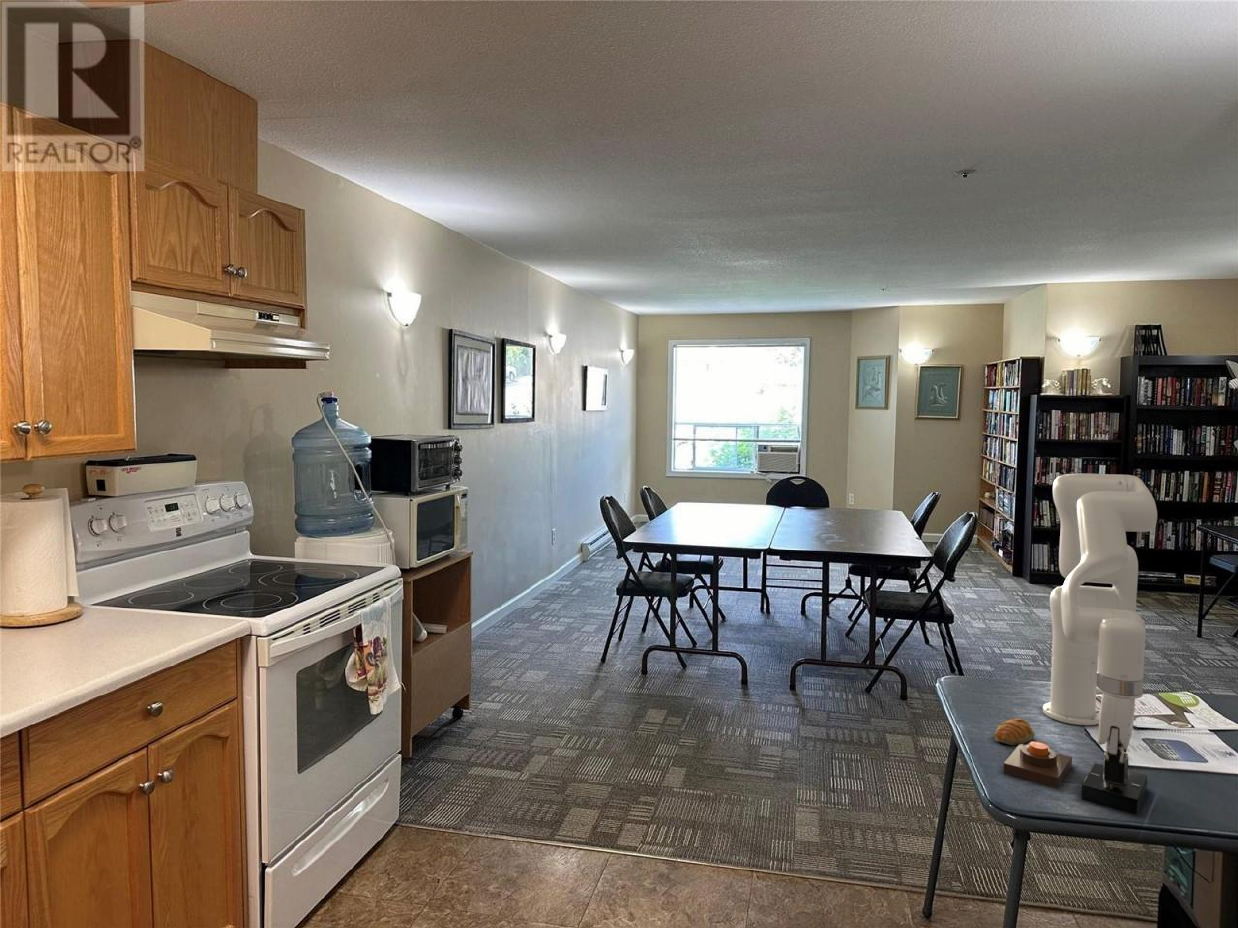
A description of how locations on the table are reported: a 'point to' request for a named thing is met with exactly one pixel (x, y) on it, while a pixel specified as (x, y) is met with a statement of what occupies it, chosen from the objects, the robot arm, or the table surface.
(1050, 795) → the table surface
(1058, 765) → the block
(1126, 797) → the dial panel
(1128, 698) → the robot arm
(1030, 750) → the button
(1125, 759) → the dial
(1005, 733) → the pastry
